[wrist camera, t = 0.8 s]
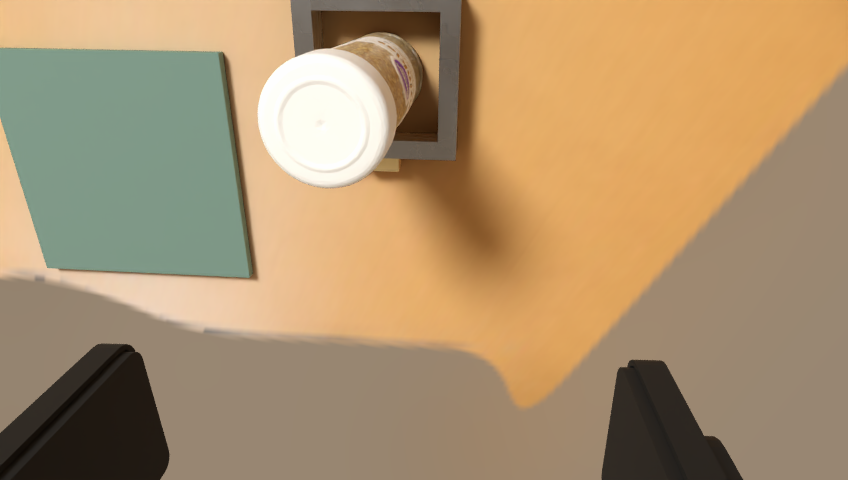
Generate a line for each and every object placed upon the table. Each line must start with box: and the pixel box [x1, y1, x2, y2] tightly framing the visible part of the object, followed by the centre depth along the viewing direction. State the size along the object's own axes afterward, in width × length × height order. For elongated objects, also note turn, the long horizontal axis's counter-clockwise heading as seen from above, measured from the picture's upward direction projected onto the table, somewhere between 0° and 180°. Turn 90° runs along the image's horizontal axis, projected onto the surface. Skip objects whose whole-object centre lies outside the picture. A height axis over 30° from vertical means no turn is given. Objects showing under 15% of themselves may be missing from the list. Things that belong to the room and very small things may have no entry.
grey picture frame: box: [291, 0, 462, 172], centre depth 29 cm, size 10×8×2 cm
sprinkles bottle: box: [258, 32, 423, 188], centre depth 24 cm, size 5×5×14 cm
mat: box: [0, 48, 253, 278], centre depth 33 cm, size 14×14×1 cm
